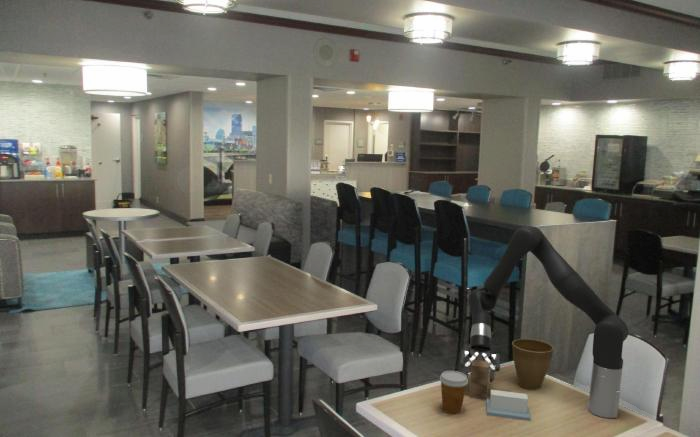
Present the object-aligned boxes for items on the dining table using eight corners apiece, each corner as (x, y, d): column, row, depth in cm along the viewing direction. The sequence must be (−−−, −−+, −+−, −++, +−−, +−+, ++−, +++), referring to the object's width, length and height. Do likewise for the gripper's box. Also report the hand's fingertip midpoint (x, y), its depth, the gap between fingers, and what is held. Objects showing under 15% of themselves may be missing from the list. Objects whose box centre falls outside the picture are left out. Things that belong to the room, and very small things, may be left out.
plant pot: (556, 386, 211) (560, 346, 209) (537, 397, 201) (541, 355, 199) (521, 373, 222) (524, 335, 219) (501, 383, 211) (504, 343, 209)
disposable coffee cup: (467, 405, 192) (470, 373, 190) (464, 418, 183) (466, 383, 181) (440, 400, 195) (442, 368, 193) (435, 412, 186) (437, 378, 184)
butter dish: (527, 407, 193) (528, 390, 192) (530, 420, 183) (532, 403, 182) (486, 401, 196) (487, 385, 195) (487, 414, 186) (488, 398, 185)
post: (486, 392, 203) (488, 361, 202) (486, 399, 197) (489, 367, 196) (469, 390, 204) (471, 359, 203) (469, 397, 199) (471, 365, 197)
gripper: (462, 331, 207) (459, 373, 197) (501, 336, 204) (500, 378, 195) (461, 340, 213) (458, 381, 203) (499, 344, 210) (498, 386, 200)
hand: (479, 379), depth 199 cm, fingers open, 8 cm apart
